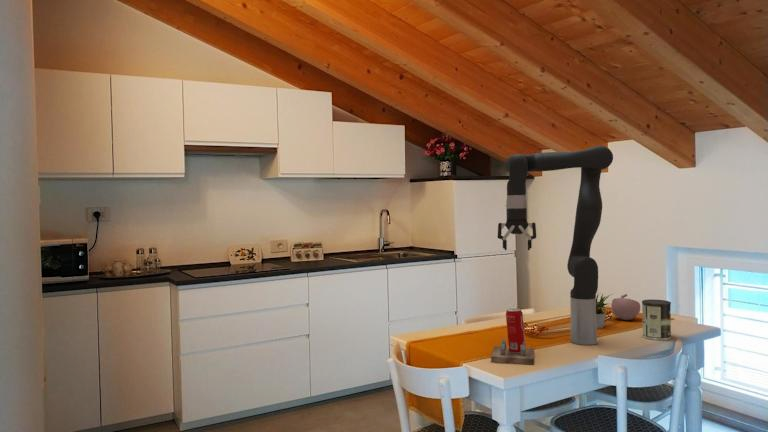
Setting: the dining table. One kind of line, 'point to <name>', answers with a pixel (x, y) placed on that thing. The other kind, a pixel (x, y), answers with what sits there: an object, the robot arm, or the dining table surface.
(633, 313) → the pink apple
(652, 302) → the coffee can
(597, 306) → the house plant
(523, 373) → the dining table surface
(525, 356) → the peg board
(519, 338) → the beverage can
